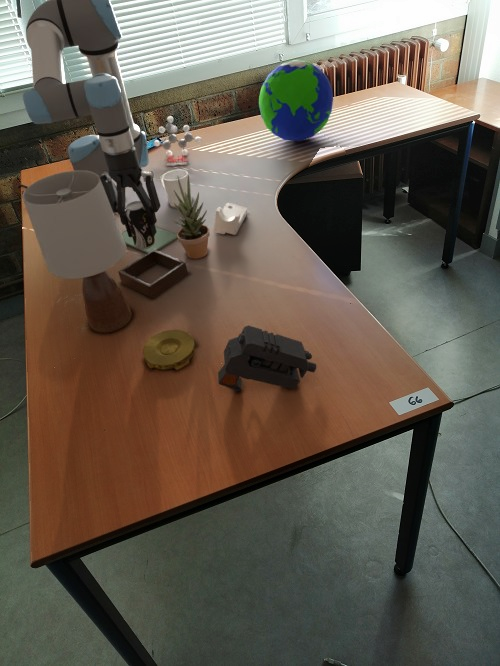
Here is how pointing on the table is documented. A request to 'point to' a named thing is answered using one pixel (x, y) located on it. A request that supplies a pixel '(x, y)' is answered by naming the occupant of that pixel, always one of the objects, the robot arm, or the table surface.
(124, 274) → the holder
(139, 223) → the beverage can
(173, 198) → the mug
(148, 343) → the yellow flat disc
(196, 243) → the potted plant
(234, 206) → the bracket
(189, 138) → the molecule model
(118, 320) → the lamp
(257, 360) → the tool
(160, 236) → the mat
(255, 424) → the table surface
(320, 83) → the globe
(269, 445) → the table surface
